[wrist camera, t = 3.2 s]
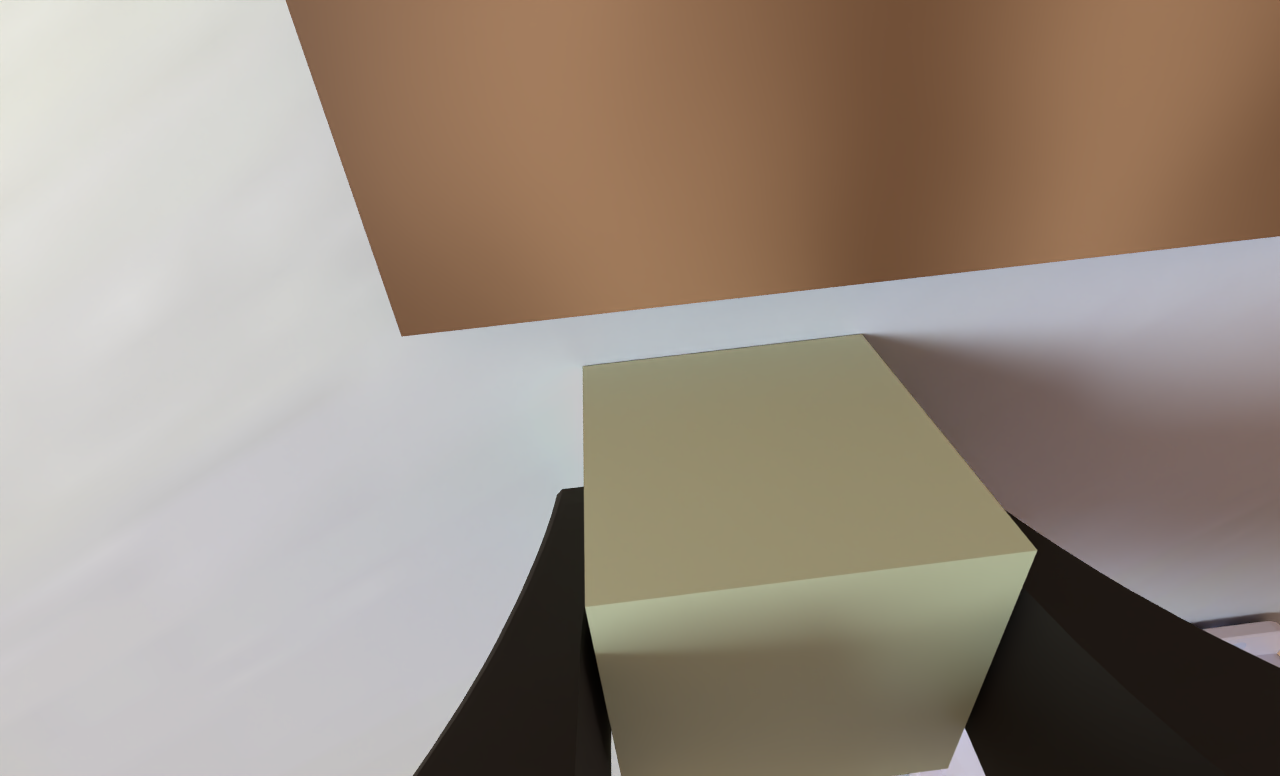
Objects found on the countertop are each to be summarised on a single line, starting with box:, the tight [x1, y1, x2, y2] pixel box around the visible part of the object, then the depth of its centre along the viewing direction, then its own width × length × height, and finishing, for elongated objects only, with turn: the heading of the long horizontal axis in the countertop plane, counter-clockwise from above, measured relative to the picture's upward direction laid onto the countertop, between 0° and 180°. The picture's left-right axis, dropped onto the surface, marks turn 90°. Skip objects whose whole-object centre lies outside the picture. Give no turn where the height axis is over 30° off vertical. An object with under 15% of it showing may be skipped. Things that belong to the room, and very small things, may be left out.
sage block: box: [583, 334, 1037, 776], centre depth 10 cm, size 5×5×5 cm
